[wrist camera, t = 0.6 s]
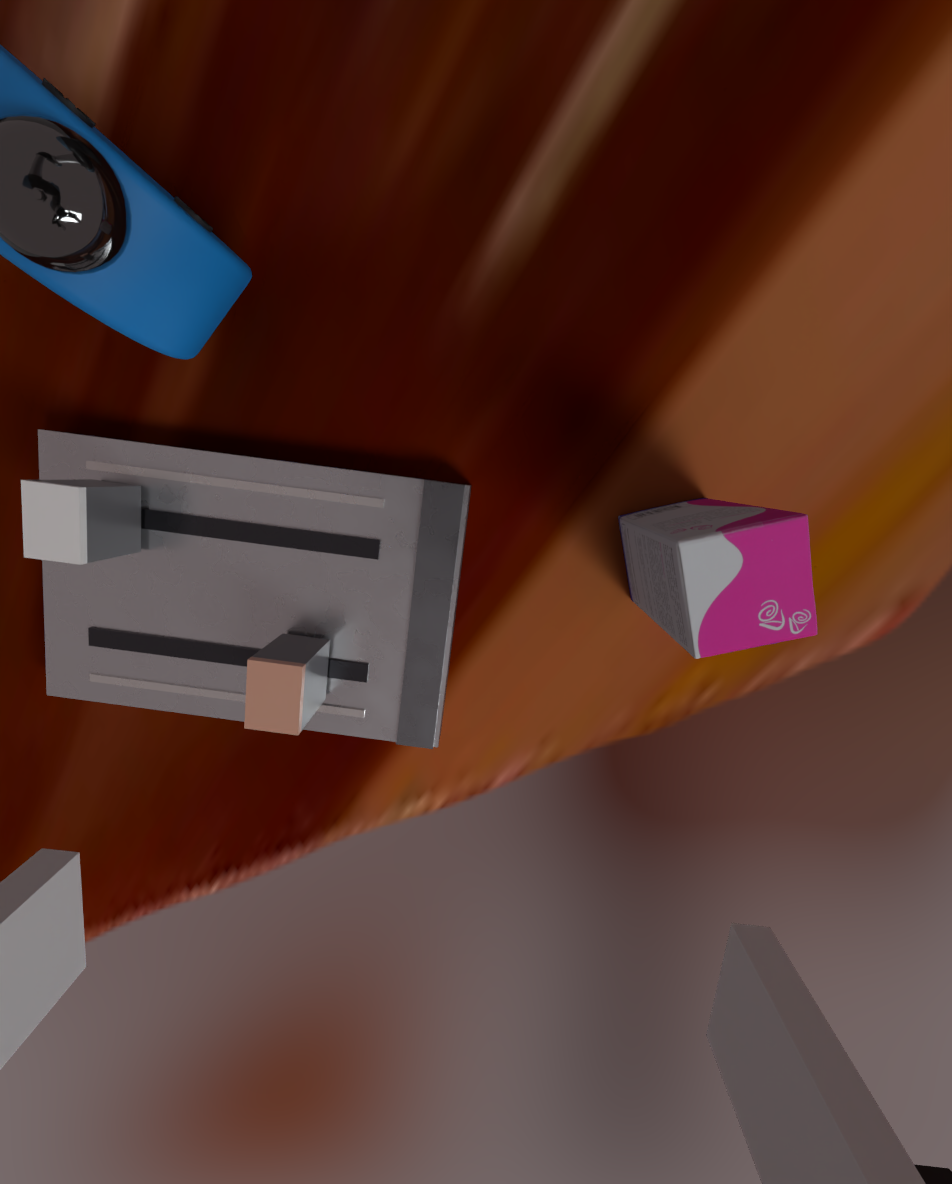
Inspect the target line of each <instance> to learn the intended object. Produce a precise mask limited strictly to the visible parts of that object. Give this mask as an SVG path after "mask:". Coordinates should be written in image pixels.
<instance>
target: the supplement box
mask: <svg viewBox="0 0 952 1184" xmlns="http://www.w3.org/2000/svg"><path fill="white" fill-rule="evenodd" d="M618 519H619V527H620V533H621V538H622V545H623V551H624V558H625V564H626V570H627V577H628V583H629V589H630V596H631V600H632V601H633V602H634V603H635V604H636V605H637V606H639V607H640V608H641V609H642V610H643V611H644V612H645V613H646V614H647V615H648V616H650V617H651V618H652V619H653V620H654V621H655V622H656V623H657V624H658V625H659V626H660V627H661V628H663V629H664V630H665V631H666V632H667V633H668V634H669V635H670V636H671V637H672V638H673V639H675V640H676V641H677V642H678V643H679V644H680V645H681V646H682V647H683V648H684V649H685V650H687V651H688V652H689V653H690V654H691V655H692V656H693V657H694V658H702V657H708V656H713V655H718V654H723V653H727V652H733V651H738V650H743V649H748V648H753V647H758V646H763V645H768V644H773V643H778V642H783V641H788V640H793V639H798V638H803V637H808V636H813V635H817V619H816V609H815V601H814V593H813V582H812V570H811V555H810V542H809V527H808V516H807V515H806V514H802V513H796V512H789V511H783V510H777V509H770V508H764V507H758V506H751V505H745V504H738V503H732V502H726V501H720V500H713V499H708V498H699V499H694V500H689V501H684V502H679V503H674V504H669V505H665V506H660V507H655V508H651V509H646V510H642V511H637V512H633V513H629V514H625V515H620V516H618Z"/></svg>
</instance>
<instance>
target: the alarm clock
mask: <svg viewBox="0 0 952 1184" xmlns="http://www.w3.org/2000/svg"><path fill="white" fill-rule="evenodd" d="M63 96H64V95H63V94H62V93H61V92H60V91H58V90H57V89H56V88H55V87H54V86H53V85H52V84H51V83H49V82H48V81H47V80H46V79H45V78H44V79H43V81H42V80H41V79H40V78H38V77H37V76H36V75H35V74H34V73H33V72H32V71H30V70H29V69H28V68H27V67H26V66H25V65H24V64H22V63H21V62H20V61H19V60H18V59H17V58H15V57H14V56H13V55H12V54H11V53H10V52H9V51H7V50H6V49H5V48H4V47H3V46H2V45H0V254H1V255H2V256H3V257H5V258H6V259H7V260H9V261H10V262H12V263H13V264H14V265H16V266H17V267H19V268H20V269H21V270H23V271H24V272H26V273H27V274H29V275H30V276H31V277H33V278H34V279H36V280H37V281H39V282H40V283H42V284H43V285H45V286H46V287H48V288H49V289H50V290H52V291H53V292H55V293H56V294H58V295H60V296H61V297H63V298H64V299H66V300H67V301H69V302H70V303H72V304H73V305H75V306H77V307H78V308H80V309H81V310H83V311H84V312H86V313H88V314H89V315H91V316H93V317H94V318H96V319H97V320H99V321H101V322H102V323H104V324H106V325H108V326H109V327H111V328H113V329H114V330H116V331H118V332H120V333H122V334H123V335H125V336H127V337H129V338H131V339H133V340H134V341H136V342H138V343H140V344H142V345H144V346H146V347H148V348H150V349H153V350H155V351H157V352H159V353H162V354H164V355H167V356H170V357H174V358H178V359H191V358H194V357H195V356H196V355H197V354H198V353H199V352H200V350H201V349H202V347H203V346H204V345H205V343H206V342H207V340H208V339H209V338H210V336H211V335H212V333H213V332H214V331H215V329H216V328H217V326H218V325H219V324H220V322H221V321H222V319H223V318H224V317H225V315H226V314H227V313H228V311H229V310H230V308H231V307H232V306H233V304H234V303H235V301H236V300H237V299H238V297H239V296H240V294H241V293H242V292H243V290H244V289H245V287H246V286H247V285H248V283H249V282H250V280H251V278H252V272H251V269H250V268H249V267H248V265H247V264H246V263H245V262H244V261H243V260H242V259H241V258H240V257H239V256H238V255H236V254H235V253H234V252H233V251H232V250H231V249H230V248H229V247H228V246H227V245H226V244H225V243H223V242H222V241H221V240H220V239H219V238H218V237H217V236H216V235H215V234H214V233H212V232H211V231H212V230H213V228H212V227H211V226H209V225H208V224H207V223H206V222H205V221H204V220H203V219H202V218H201V217H199V216H198V215H197V214H194V211H193V210H192V209H191V208H189V207H188V206H187V205H186V204H185V203H184V202H183V201H182V200H180V199H179V198H178V197H177V196H176V197H175V198H174V197H173V196H171V195H170V194H169V193H168V192H167V191H166V190H165V189H164V188H163V187H161V186H160V185H159V184H158V183H157V182H156V181H155V180H154V179H153V178H151V177H150V176H149V175H148V174H147V173H146V172H145V171H144V170H142V169H141V168H140V167H139V166H138V165H137V164H136V163H135V162H133V161H132V160H131V159H130V158H129V157H128V156H127V155H126V154H124V153H123V152H122V151H121V150H120V149H119V148H118V147H117V146H115V145H114V144H113V143H112V142H111V141H110V140H109V139H108V138H106V137H105V136H104V135H103V134H102V133H101V132H100V131H99V130H97V129H96V128H95V127H94V126H95V123H94V122H93V121H92V120H91V119H90V118H89V117H88V116H86V115H85V114H84V113H83V112H82V111H81V110H80V109H79V108H75V105H74V104H73V103H72V102H71V101H70V100H69V99H68V98H66V99H65V98H64V97H63Z"/></svg>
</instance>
